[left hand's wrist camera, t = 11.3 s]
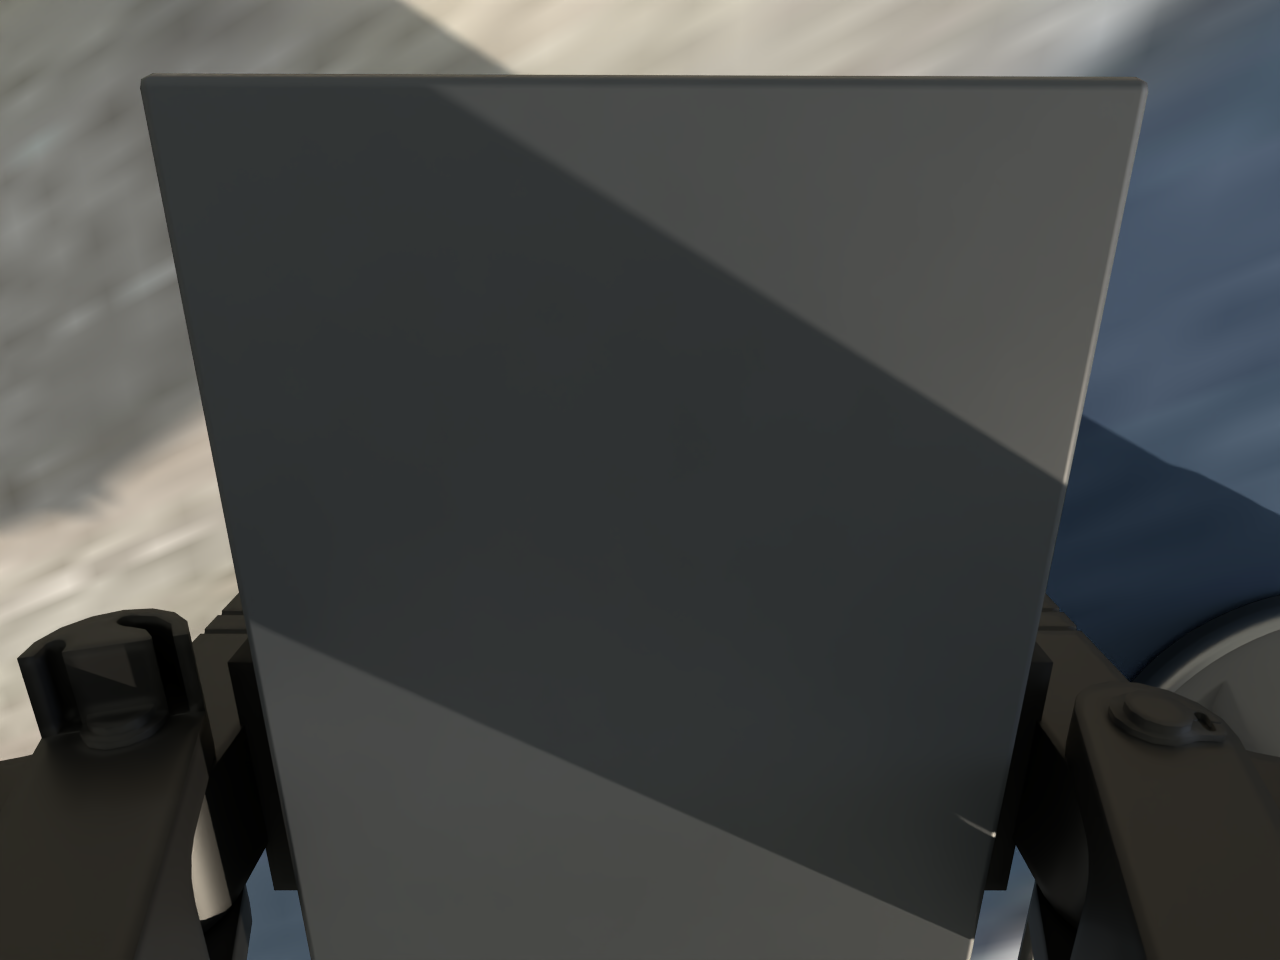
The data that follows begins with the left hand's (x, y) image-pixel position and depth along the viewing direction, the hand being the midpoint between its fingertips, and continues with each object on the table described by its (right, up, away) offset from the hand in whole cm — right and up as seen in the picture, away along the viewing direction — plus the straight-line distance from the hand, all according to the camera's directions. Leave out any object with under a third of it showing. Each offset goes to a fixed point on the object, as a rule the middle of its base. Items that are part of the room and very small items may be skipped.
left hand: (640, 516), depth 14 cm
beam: (0, -25, +10) cm, 27 cm away
